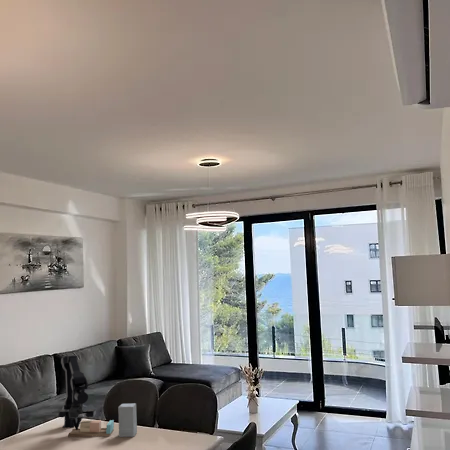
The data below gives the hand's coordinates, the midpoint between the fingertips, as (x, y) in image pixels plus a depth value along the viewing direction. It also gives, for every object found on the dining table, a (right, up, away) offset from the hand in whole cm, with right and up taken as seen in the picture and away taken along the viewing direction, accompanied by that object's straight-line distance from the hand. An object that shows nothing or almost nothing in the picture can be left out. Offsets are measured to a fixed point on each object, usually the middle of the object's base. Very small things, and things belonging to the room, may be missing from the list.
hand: (76, 429), depth 248 cm
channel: (+8, -2, 0) cm, 8 cm away
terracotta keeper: (+10, -1, 0) cm, 10 cm away
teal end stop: (+18, -1, +1) cm, 18 cm away
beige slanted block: (+5, -1, 0) cm, 5 cm away
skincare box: (+28, -2, -3) cm, 28 cm away
